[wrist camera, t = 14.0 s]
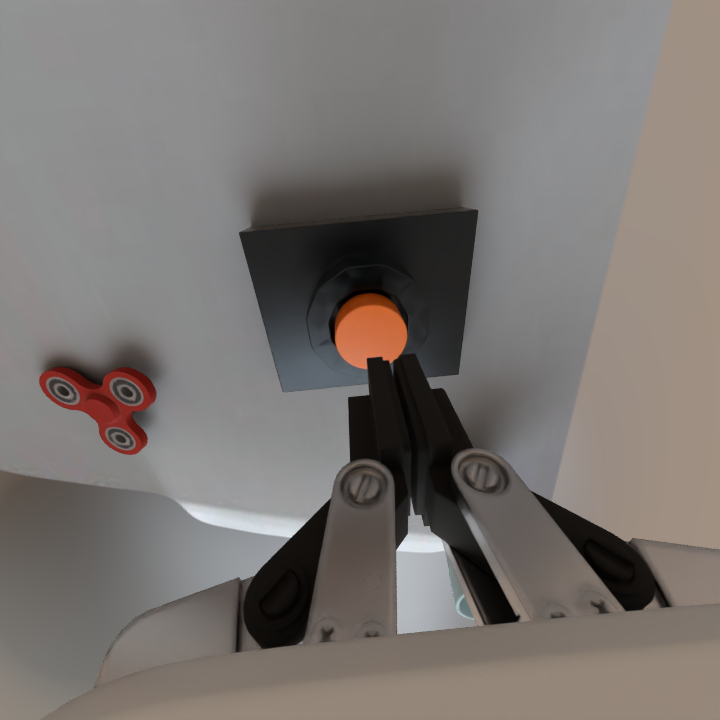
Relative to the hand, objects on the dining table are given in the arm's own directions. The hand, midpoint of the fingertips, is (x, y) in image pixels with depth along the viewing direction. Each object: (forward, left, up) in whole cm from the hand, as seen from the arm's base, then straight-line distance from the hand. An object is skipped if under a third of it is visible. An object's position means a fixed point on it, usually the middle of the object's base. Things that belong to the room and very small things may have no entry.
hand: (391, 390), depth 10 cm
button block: (0, 0, -10) cm, 10 cm away
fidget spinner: (+20, +5, -8) cm, 22 cm away
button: (0, 0, -6) cm, 6 cm away
